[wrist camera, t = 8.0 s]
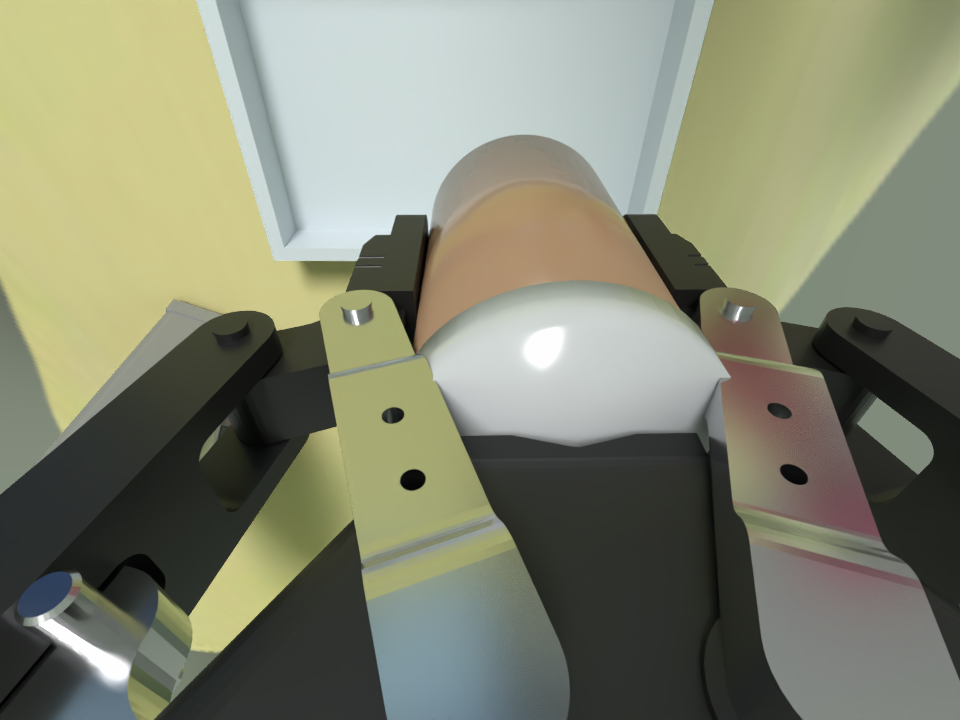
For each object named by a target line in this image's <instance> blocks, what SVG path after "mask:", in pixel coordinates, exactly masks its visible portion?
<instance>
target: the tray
mask: <svg viewBox="0 0 960 720" xmlns="http://www.w3.org/2000/svg"><path fill="white" fill-rule="evenodd" d="M196 1H197V5H198V8H199V11H200V15H201V18H202V21H203V25H204V28H205V31H206V35H207V38H208V41H209V45H210V48H211V51H212V55H213V58H214V61H215V65H216V68H217V71H218V75H219V78H220V81H221V85H222V88H223V92H224V95H225V98H226V102H227V105H228V108H229V112H230V115H231V118H232V122H233V125H234V128H235V132H236V135H237V138H238V142H239V145H240V148H241V152H242V155H243V158H244V162H245V165H246V168H247V172H248V175H249V179H250V182H251V185H252V189H253V192H254V195H255V199H256V202H257V205H258V209H259V212H260V215H261V219H262V222H263V225H264V229H265V232H266V235H267V239H268V242H269V245H270V249H271V252H272V255H273V259H274V261H357V260H358V258H359V255H360V252H361V249H362V247H363V245H364V244H365V243H366V242H367V241H369V240H370V239H371V238H372V237H374V236H375V235H391V231H392V228H393V224H394V221H395V217H396V215H427V220H428V231H430V224H431V217H432V210H433V205H434V202H435V198H436V195H437V193H438V190H439V188H440V186H441V184H442V182H443V181H444V179H445V177H446V176H447V174H448V173H449V172H450V170H451V169H452V168H453V167H454V166H455V164H457V163H458V162H459V161H460V160H461V159H462V158H463V157H464V156H465V155H467V154H468V153H470V152H471V151H472V150H474V149H475V148H477V147H479V146H481V145H483V144H485V143H487V142H490V141H492V140H495V139H498V138H502V137H507V136H511V135H538V136H543V137H547V138H551V139H554V140H556V141H559V142H562V143H563V144H565V145H567V146H569V147H571V148H572V149H574V150H575V151H576V152H578V153H579V154H580V155H581V156H583V158H584V159H585V160H586V161H587V162H588V163H589V164H590V165H591V167H592V168H593V169H594V171H595V172H596V174H597V175H598V177H599V179H600V180H601V182H602V183H603V185H604V187H605V188H606V190H607V192H608V193H609V195H610V196H611V198H612V200H613V201H614V203H615V205H616V206H617V208H618V209H619V211H620V213H621V214H622V216H624V215H625V214H656V215H657V212H658V208H659V205H660V201H661V197H662V193H663V190H664V186H665V182H666V179H667V175H668V171H669V167H670V164H671V160H672V156H673V152H674V149H675V145H676V141H677V137H678V134H679V130H680V126H681V123H682V119H683V115H684V111H685V108H686V104H687V100H688V96H689V93H690V89H691V85H692V81H693V78H694V74H695V70H696V67H697V63H698V59H699V55H700V52H701V48H702V44H703V40H704V37H705V33H706V29H707V26H708V22H709V18H710V14H711V11H712V7H713V3H714V0H196Z"/></svg>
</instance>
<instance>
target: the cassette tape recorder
mask: <svg viewBox="0 0 960 720" xmlns="http://www.w3.org/2000/svg"><path fill="white" fill-rule="evenodd" d="M218 316H221V314H218V313H215V312H212V311H209V310H206V309H203V308H200V307H197V306H194V305H191V304H188V303H186V302H183V301H178V300H175V299H174V300H173V301H172V302H171V303H170V304H169V306H168V307H167V308H166V313H165V315H164V316H163V317H162V318H161V319H160V320H159V322H158V323H157V324H156V325H155V326H154V327H153V329H152V330H151V331H150V332H149V333H148V334H147V335H146V337H145V338H144V339H143V340H142V341H141V342H140V344H139V345H138V346H137V347H136V348H135V349H134V351H133V352H132V353H131V354H130V355H129V356H128V357H127V359H126V360H125V361H124V362H123V363H122V364H121V366H120V367H119V368H118V369H117V370H116V371H115V373H114V374H113V375H112V376H111V377H110V378H109V379H108V381H107V382H106V383H105V384H104V385H103V386H102V388H101V389H100V390H99V391H98V392H97V393H96V395H95V396H94V397H93V398H92V399H91V400H90V401H89V403H88V404H87V405H86V406H85V407H84V408H83V410H82V411H81V412H80V413H79V414H78V415H77V416H76V418H75V419H74V420H73V421H72V422H71V423H70V425H69V426H68V427H67V428H66V429H65V430H64V432H63V433H62V434H61V435H60V436H59V437H58V439H57V440H56V441H55V442H54V443H53V444H52V445H51V447H50V448H49V449H48V450H47V451H46V452H45V454H44V455H43V456H42V457H41V458H40V460H38V462H37V463H39V462H40V461H41V460H42V459H43V458H44V457H46V456H47V455H48V454H49V453H50V452H52V451H53V450H54V449H55V448H56V447H57V446H59V445H60V444H61V443H62V442H63V441H65V440H66V439H67V438H68V437H69V436H71V435H72V434H73V433H74V432H75V431H76V430H78V429H79V428H80V427H81V426H82V425H84V424H85V423H86V422H87V421H88V420H89V419H91V418H92V417H93V416H94V415H95V414H97V413H98V412H99V411H100V410H101V409H103V408H104V407H105V406H106V405H107V404H108V403H110V402H111V401H112V400H113V399H114V398H116V397H117V396H118V395H119V394H120V393H121V392H123V391H124V390H125V389H126V388H127V387H129V386H130V385H131V384H132V383H133V382H134V381H136V380H137V379H138V378H139V377H140V376H142V375H143V374H144V373H145V372H146V371H148V370H149V369H150V368H151V367H152V366H153V365H155V364H156V363H157V362H158V361H159V360H161V359H162V358H163V357H164V356H165V355H166V354H168V353H169V352H170V351H171V350H172V349H174V348H175V347H176V346H177V345H178V344H180V343H181V342H182V341H183V340H184V339H185V338H187V337H188V336H189V335H190V334H191V333H193V332H194V331H195V330H196V329H197V328H198V327H200V326H201V325H202V324H204V323H206V322H207V321H209V320H211V319H213V318H215V317H218ZM230 425H231V424H230V422H229V420H228V418H226V419H225V420H224V421H223V422H222V423H221V424H220V426H219V427H218V428H217V429H216V430H215V431H214V432H213V433H212V435H211V436H210V437H209V438H208V439H207V441H206V442H205V444H204V445H203V448H202V450H201V453H200V458H199V461H200V460H201V459H202V457H203V456H204V455H205V454H206V453H207V452H208V451H209V449H210V448H211V447H212V446H213V445H214V444H215V442H216V441H217V440H218V439H219V438H220V437H221V435H222V434H223V433H224V432H225V431H226V430H227V429H228V427H229V426H230ZM37 463H36V464H37ZM36 464H35V465H36ZM35 465H34V466H35ZM34 466H33V467H34Z"/></svg>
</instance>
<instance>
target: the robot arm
mask: <svg viewBox="0 0 960 720" xmlns="http://www.w3.org/2000/svg"><path fill="white" fill-rule="evenodd" d="M623 218H624V219H625V221H626V222H627V224H628V226H629V227H630V229H631V231H632V232H633V234H634V235H635V237H636V239H637V240H638V242H639V244H640V245H641V247H642V248H643V250H644V252H645V253H646V255H647V257H648V258H649V260H650V261H651V263H652V265H653V266H654V268H655V270H656V271H657V273H658V274H659V276H660V278H661V279H662V281H663V283H664V284H665V286H666V287H667V289H668V291H669V292H670V294H671V296H672V297H673V299H674V300H675V302H676V304H677V305H678V307H679V309H680V310H681V311H682V312H684V313H685V314H686V315H687V316H688V317H689V318H690V319H691V320H692V321H693V322H694V323H695V324H696V325H698V327H699V328H700V329H701V331H702V332H703V334H704V335H705V337H706V338H707V339H708V341H709V342H710V344H711V346H712V347H713V349H714V351H715V353H716V354H717V356H718V358H719V359H720V361H721V362H722V364H723V366H724V367H725V369H726V370H727V372H728V373H729V375H730V377H731V378H720V379H719V381H718V383H717V385H716V387H715V390H714V392H713V394H712V396H711V398H710V401H709V403H708V405H707V407H706V409H705V412H704V414H703V416H702V417H703V418H706V420H707V423H708V433H709V448H710V450H709V452H708V453H707V452H706V451H705V449H704V447H703V445H702V442H701V440H700V438H699V436H698V434H697V433H650V434H633V435H629V436H625V437H621V438H617V439H612V440H608V441H604V442H600V443H595V444H591V445H587V446H582V447H572V446H566V445H561V444H555V443H550V442H545V441H540V440H534V439H529V438H524V437H519V436H513V435H492V436H460V435H459V433H458V430H457V428H456V426H455V424H454V421H453V419H452V417H451V414H450V412H449V410H448V408H447V405H446V403H445V401H444V398H443V396H442V394H441V392H440V389H439V387H438V385H437V382H436V381H433V373H432V371H431V369H430V366H429V364H428V362H427V360H426V358H425V356H424V355H423V353H420V354H415V353H414V351H413V343H414V336H415V329H416V322H417V315H418V308H419V301H420V294H421V287H422V280H423V273H424V266H425V259H426V252H427V245H428V238H429V231H428V220H427V215H396V217H395V221H394V224H393V228H392V231H391V235H375V236H374V237H372V238H371V239H370V240H369V241H367V242H366V243H365V244H364V245H363V247H362V249H361V252H360V255H359V258H358V260H357V263H356V268H354V271H353V274H352V276H351V279H350V282H349V284H348V287H347V290H346V292H345V293H342V294H339V295H337V296H335V297H333V298H331V299H329V300H328V301H327V302H326V303H325V304H324V305H323V306H322V308H321V309H320V312H319V317H320V321H317V322H314V323H311V324H308V325H304V326H299V327H294V328H289V329H284V330H279V331H276V328H275V325H274V322H273V320H272V319H271V318H270V317H269V316H268V315H266V314H264V313H261V312H256V311H238V312H232V313H227V314H224V315H221V316H218V317H215V318H213V319H211V320H209V321H207V322H206V323H204V324H202V325H201V326H200V327H198V328H197V329H196V330H195V331H194V332H193V333H191V334H190V335H189V336H188V337H187V338H185V339H184V340H183V341H182V342H181V343H180V344H178V345H177V346H176V347H175V348H174V349H172V350H171V351H170V352H169V353H168V354H166V355H165V356H164V357H163V358H162V359H161V360H159V361H158V362H157V363H156V364H155V365H153V366H152V367H151V368H150V369H149V370H148V371H146V372H145V373H144V374H143V375H142V376H140V377H139V378H138V379H137V380H136V381H134V382H133V383H132V384H131V385H130V386H129V387H127V388H126V389H125V390H124V391H123V392H121V393H120V394H119V395H118V396H117V397H116V398H114V399H113V400H112V401H111V402H110V403H108V404H107V405H106V406H105V407H104V408H103V409H101V410H100V411H99V412H98V413H97V414H95V415H94V416H93V417H92V418H91V419H89V420H88V421H87V422H86V423H85V424H84V425H82V426H81V427H80V428H79V429H78V430H76V431H75V432H74V433H73V434H72V435H71V436H69V437H68V438H67V439H66V440H65V441H63V442H62V443H61V444H60V445H59V446H57V447H56V448H55V449H54V450H53V451H52V452H50V453H49V454H48V455H47V456H46V457H44V458H43V459H42V460H41V461H40V462H39V463H37V464H36V465H35V466H34V467H33V468H31V469H30V470H29V471H28V472H27V473H26V474H25V475H23V476H22V477H21V478H20V479H18V480H17V481H16V482H15V483H14V484H12V485H11V486H10V487H9V488H8V489H7V490H5V491H4V492H3V493H2V494H1V495H0V720H960V359H959V358H957V357H955V356H953V355H952V354H950V353H949V352H947V351H945V350H944V349H942V348H940V347H939V346H937V345H935V344H934V343H932V342H931V341H929V340H927V339H926V338H924V337H922V336H921V335H919V334H917V333H916V332H914V331H912V330H911V329H909V328H907V327H906V326H904V325H902V324H900V323H899V322H897V321H896V320H893V319H892V318H889V317H887V316H885V315H882V314H879V313H876V312H873V311H869V310H864V309H859V308H849V307H843V308H837V309H834V310H831V311H830V312H828V313H827V315H826V317H825V318H824V320H823V322H822V324H821V325H820V327H819V328H814V327H808V326H803V325H797V324H791V323H785V322H781V321H780V318H779V315H778V312H777V310H776V308H775V307H774V306H773V305H772V304H771V303H770V302H769V301H767V300H766V299H764V298H762V297H761V296H758V295H756V294H754V293H751V292H748V291H745V290H741V289H736V288H727V286H726V285H725V284H724V283H723V281H722V280H721V279H720V278H719V276H718V275H717V274H716V273H715V271H714V270H713V269H712V268H711V266H708V263H707V261H706V260H705V259H704V258H703V257H701V254H700V253H699V252H698V250H697V249H696V248H695V247H694V245H693V244H692V243H690V242H689V241H687V240H685V239H684V238H682V237H680V236H678V235H677V234H671V233H670V232H669V230H668V229H667V228H666V226H665V225H664V224H663V222H662V221H661V220H660V218H659V217H658V216H657V215H656V214H625V215H624V216H623ZM877 397H878V398H879V399H880V400H882V401H883V402H884V403H886V404H887V405H888V406H890V407H891V408H892V409H894V410H895V411H896V412H898V413H899V414H900V415H902V416H903V417H904V418H906V419H907V420H908V421H909V422H911V423H912V424H913V425H915V426H916V427H917V428H919V429H920V430H921V431H922V432H924V433H925V434H926V435H927V436H928V438H929V439H930V441H931V443H932V445H933V449H934V456H933V459H932V461H931V462H930V464H929V465H928V466H927V467H926V468H925V469H924V470H923V471H922V472H921V473H920V474H919V475H917V474H916V473H915V472H914V471H912V470H911V469H910V468H909V467H908V466H907V465H905V464H904V463H903V462H902V461H901V460H899V459H898V458H897V457H896V456H895V455H893V454H892V453H891V452H890V451H889V450H887V449H886V448H885V447H884V446H883V445H881V444H880V443H879V442H878V441H877V440H875V439H874V438H873V437H872V436H870V435H869V434H868V433H867V432H866V431H865V430H863V429H862V428H861V427H860V426H859V425H857V423H858V422H859V420H860V419H861V418H862V416H863V415H864V414H865V413H866V411H867V410H868V409H869V407H870V406H871V405H872V404H873V402H874V401H875V400H876V398H877ZM226 418H228V420H229V422H230V424H231V425H230V426H229V427H228V429H227V430H226V431H225V432H224V433H223V434H222V435H221V437H220V438H219V439H218V440H217V441H216V442H215V444H214V445H213V446H212V447H211V448H210V449H209V451H208V452H207V453H206V454H205V455H204V456H203V457H202V459H201V460H200V461H199V458H200V453H201V450H202V448H203V445H204V444H205V442H206V441H207V439H208V438H209V437H210V436H211V435H212V433H213V432H214V431H215V430H216V429H217V428H218V427H219V426H220V424H221V423H222V422H223V421H224V420H225V419H226ZM336 426H337V429H338V435H339V440H340V446H341V451H342V457H343V462H344V468H345V473H346V479H347V484H348V490H349V495H350V501H351V506H352V512H353V518H354V519H353V520H352V521H351V522H350V523H349V524H348V525H347V526H346V527H345V528H344V529H343V530H342V531H341V532H340V533H339V534H338V535H337V536H336V537H335V538H334V539H333V540H332V541H331V542H330V543H329V544H328V545H327V546H326V547H325V548H324V549H323V550H322V551H321V552H320V553H319V554H318V555H317V556H316V557H315V558H314V559H313V560H312V561H311V562H310V563H309V564H308V565H307V566H306V567H305V568H304V569H303V570H302V571H301V572H300V573H299V574H298V575H297V576H296V577H295V578H294V579H293V580H292V581H291V582H290V583H289V584H288V585H287V586H286V587H285V588H284V589H283V590H282V591H281V592H280V593H279V594H278V595H277V596H276V597H275V598H274V599H273V600H272V601H271V602H270V603H269V604H268V605H267V606H266V607H265V608H264V609H263V610H262V611H261V612H260V613H259V614H258V615H257V616H256V617H255V618H254V619H253V620H252V621H251V622H250V623H249V624H248V625H247V626H246V627H245V628H244V629H243V630H242V631H241V632H240V633H239V634H238V635H237V636H236V637H235V638H234V639H233V640H232V641H231V642H230V643H229V644H228V645H227V646H226V647H225V648H224V649H223V650H222V651H221V652H220V654H219V655H218V656H217V657H216V658H215V659H214V660H213V661H212V662H211V663H210V664H209V665H208V666H207V667H206V668H205V669H204V670H203V671H202V672H201V673H200V674H199V675H198V676H197V677H196V678H195V679H194V680H193V681H192V682H191V683H190V684H189V685H188V686H187V687H186V688H185V689H184V690H183V691H182V692H181V693H180V694H179V695H178V696H177V697H176V698H175V699H174V700H173V701H172V702H171V703H170V700H171V695H172V692H173V691H174V690H175V688H176V687H177V686H178V684H179V682H180V680H181V678H182V675H183V666H184V664H185V662H186V660H187V657H188V654H189V652H190V648H191V643H192V626H191V622H190V620H189V617H188V616H189V615H190V613H191V612H192V610H193V609H194V608H195V606H196V605H197V603H198V602H199V600H200V599H201V597H202V596H203V594H204V593H205V591H206V590H207V588H208V587H209V585H210V584H211V582H212V581H213V579H214V578H215V576H216V575H217V573H218V572H219V570H220V569H221V567H222V566H223V564H224V563H225V562H226V560H227V559H228V557H229V556H230V554H231V553H232V551H233V550H234V548H235V547H236V545H237V544H238V542H239V541H240V539H241V538H242V536H243V535H244V533H245V532H246V530H247V529H248V527H249V526H250V524H251V523H252V521H253V520H254V518H255V517H256V515H257V514H258V513H259V511H260V510H261V508H262V507H263V505H264V504H265V502H266V501H267V499H268V498H269V496H270V495H271V493H272V492H273V490H274V489H275V487H276V486H277V484H278V483H279V481H280V480H281V478H282V477H283V475H284V474H285V472H286V471H287V469H288V468H289V467H290V465H291V464H292V462H293V461H294V459H295V458H296V456H297V455H298V453H299V452H300V450H301V449H302V447H303V446H304V444H305V443H306V441H307V439H308V437H309V434H310V433H313V432H317V431H321V430H325V429H329V428H332V427H336Z"/></svg>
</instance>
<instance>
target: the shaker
mask: <svg viewBox="0 0 960 720" xmlns="http://www.w3.org/2000/svg"><path fill="white" fill-rule="evenodd" d="M413 351H414V353H415V354H420V353H423V355H424V356H425V358H426V360H427V362H428V364H429V366H430V369H431V371H432V373H433V381H436V382H437V385H438V387H439V389H440V392H441V394H442V396H443V398H444V401H445V403H446V405H447V408H448V410H449V412H450V414H451V417H452V419H453V421H454V424H455V426H456V428H457V430H458V433H459V435H460V436H492V435H513V436H519V437H524V438H529V439H534V440H540V441H545V442H550V443H555V444H561V445H566V446H572V447H582V446H587V445H591V444H595V443H600V442H604V441H608V440H612V439H617V438H621V437H625V436H629V435H633V434H650V433H697V434H698V436H699V438H700V440H701V442H702V445H703V447H704V449H705V451H706V452H707V453H708V452H709V450H710V448H709V433H708V423H707V420H706V418H703V417H702V416H703V414H704V412H705V409H706V407H707V405H708V403H709V401H710V398H711V396H712V394H713V392H714V390H715V387H716V385H717V383H718V381H719V379H720V378H731V377H730V375H729V373H728V372H727V370H726V369H725V367H724V366H723V364H722V362H721V361H720V359H719V358H718V356H717V354H716V353H715V351H714V349H713V347H712V346H711V344H710V342H709V341H708V339H707V338H706V337H705V335H704V334H703V332H702V331H701V329H700V328H699V327H698V325H696V324H695V323H694V322H693V321H692V320H691V319H690V318H689V317H688V316H687V315H686V314H685V313H684V312H682V311H681V310H680V309H679V307H678V305H677V304H676V302H675V300H674V299H673V297H672V296H671V294H670V292H669V291H668V289H667V287H666V286H665V284H664V283H663V281H662V279H661V278H660V276H659V274H658V273H657V271H656V270H655V268H654V266H653V265H652V263H651V261H650V260H649V258H648V257H647V255H646V253H645V252H644V250H643V248H642V247H641V245H640V244H639V242H638V240H637V239H636V237H635V235H634V234H633V232H632V231H631V229H630V227H629V226H628V224H627V222H626V221H625V219H624V218H623V216H622V214H621V213H620V211H619V209H618V208H617V206H616V205H615V203H614V201H613V200H612V198H611V196H610V195H609V193H608V192H607V190H606V188H605V187H604V185H603V183H602V182H601V180H600V179H599V177H598V175H597V174H596V172H595V171H594V169H593V168H592V167H591V165H590V164H589V163H588V162H587V161H586V160H585V159H584V158H583V156H581V155H580V154H579V153H578V152H576V151H575V150H574V149H572V148H571V147H569V146H567V145H565V144H563V143H562V142H559V141H556V140H554V139H551V138H547V137H543V136H538V135H511V136H507V137H502V138H498V139H495V140H492V141H490V142H487V143H485V144H483V145H481V146H479V147H477V148H475V149H474V150H472V151H471V152H470V153H468V154H467V155H465V156H464V157H463V158H462V159H461V160H460V161H459V162H458V163H457V164H455V166H454V167H453V168H452V169H451V170H450V172H449V173H448V174H447V176H446V177H445V179H444V181H443V182H442V184H441V186H440V188H439V190H438V193H437V195H436V198H435V202H434V205H433V210H432V217H431V224H430V231H429V238H428V245H427V252H426V259H425V266H424V273H423V280H422V287H421V294H420V301H419V308H418V315H417V322H416V329H415V336H414V343H413Z"/></svg>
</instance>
